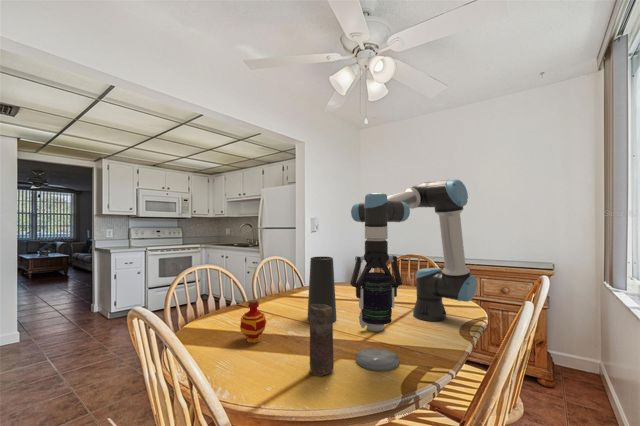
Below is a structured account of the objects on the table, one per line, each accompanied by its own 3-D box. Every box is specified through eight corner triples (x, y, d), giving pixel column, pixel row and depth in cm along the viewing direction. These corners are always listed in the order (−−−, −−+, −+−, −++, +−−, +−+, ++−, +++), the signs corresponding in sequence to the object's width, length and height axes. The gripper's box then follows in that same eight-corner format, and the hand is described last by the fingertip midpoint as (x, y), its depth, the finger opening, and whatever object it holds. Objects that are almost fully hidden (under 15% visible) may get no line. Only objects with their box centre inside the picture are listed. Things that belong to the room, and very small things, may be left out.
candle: (309, 365, 98) (309, 302, 99) (331, 364, 99) (331, 301, 99) (310, 377, 90) (310, 309, 91) (335, 376, 91) (334, 308, 92)
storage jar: (385, 327, 95) (385, 278, 95) (356, 321, 100) (356, 275, 100) (396, 318, 103) (395, 273, 103) (368, 313, 108) (368, 271, 109)
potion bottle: (271, 336, 122) (271, 299, 123) (258, 346, 113) (258, 305, 113) (248, 333, 126) (248, 297, 126) (233, 343, 116) (233, 303, 116)
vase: (302, 322, 140) (302, 258, 141) (314, 313, 153) (314, 255, 154) (330, 325, 135) (330, 260, 136) (340, 316, 148) (340, 256, 149)
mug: (388, 330, 130) (387, 301, 130) (364, 334, 125) (364, 304, 125) (377, 324, 137) (377, 297, 137) (354, 328, 132) (354, 300, 132)
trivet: (389, 350, 109) (389, 347, 109) (406, 369, 95) (406, 365, 95) (351, 353, 107) (351, 349, 107) (362, 372, 93) (362, 368, 93)
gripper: (403, 238, 107) (404, 303, 107) (340, 239, 104) (341, 305, 104) (413, 240, 100) (413, 309, 99) (345, 240, 97) (345, 311, 96)
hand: (376, 307), depth 102 cm, fingers closed on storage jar, 10 cm apart
